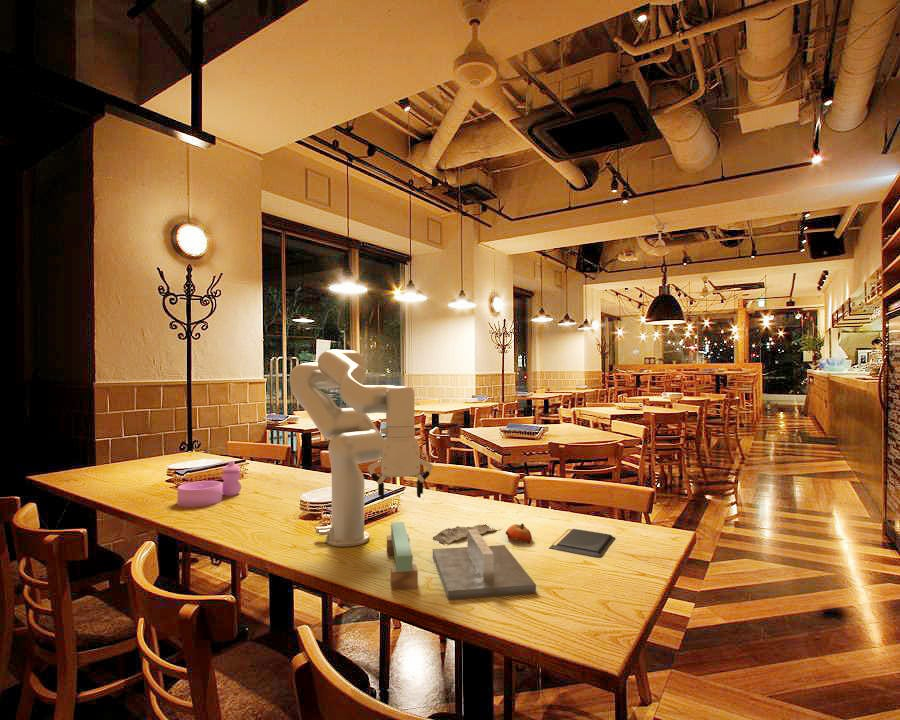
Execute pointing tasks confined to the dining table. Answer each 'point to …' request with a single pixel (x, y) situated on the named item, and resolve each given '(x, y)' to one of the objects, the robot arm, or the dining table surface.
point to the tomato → (519, 533)
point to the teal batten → (401, 547)
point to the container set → (210, 489)
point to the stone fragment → (459, 533)
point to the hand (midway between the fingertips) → (400, 497)
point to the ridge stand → (481, 570)
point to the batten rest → (401, 578)
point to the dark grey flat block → (583, 543)
